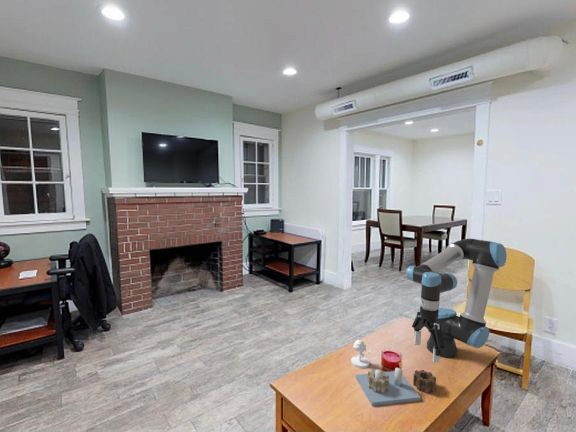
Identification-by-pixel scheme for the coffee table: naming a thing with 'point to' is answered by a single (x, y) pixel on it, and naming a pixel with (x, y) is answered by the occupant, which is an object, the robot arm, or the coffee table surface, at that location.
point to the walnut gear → (424, 381)
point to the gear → (378, 382)
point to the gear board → (396, 392)
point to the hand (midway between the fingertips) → (426, 352)
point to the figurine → (360, 355)
